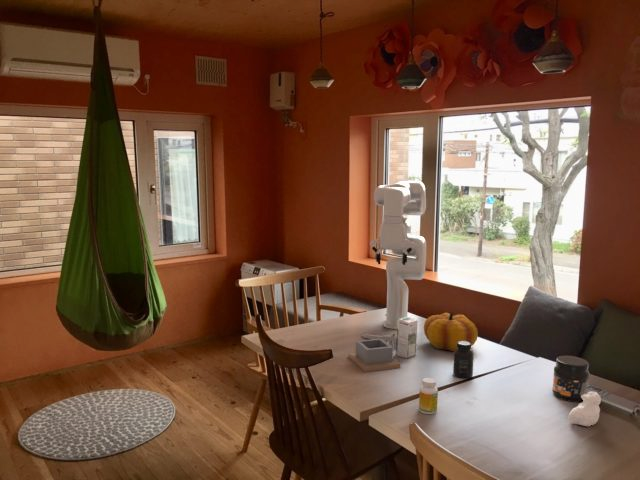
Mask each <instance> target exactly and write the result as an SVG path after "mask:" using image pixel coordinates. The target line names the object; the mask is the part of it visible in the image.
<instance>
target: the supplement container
mask: <svg viewBox="0 0 640 480" xmlns="http://www.w3.org/2000/svg"><path fill="white" fill-rule="evenodd" d="M555 360H556V361H555V366H554V367H553V383H552V393H553V394H554V395H555V396H556V397H557V396H558V397H557V398H559V397H560V398H559V399H561V398H562V400H564V399H565V400H564V401H567V400H570V401H569V402H575V401H577V402H581V401H580V400H583V399H582V398H581V395H583V394H586V393H588V392H589V391H588V390H589V379H590V378H589V377H590V371H589V366H590V365H589V362H588V361H587V360H586V359H584V358H581V357H577V356H574V355H560V356H557V357H556V359H555Z"/></svg>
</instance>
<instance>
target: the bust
mask: <svg viewBox="0 0 640 480" xmlns="http://www.w3.org/2000/svg"><path fill="white" fill-rule="evenodd" d="M581 398H582V399H583V401H581V402H580V403H578V405H577V406H576V407H573V408H572V409H571V410H570V412H569V414H568V416H567V417H568V419H567V420H568V423H569V424H571V425H580V426H583V427H592V426H593V425H595V424H597V422H598V421H599V418H600V411H601V408H600V406H599V405H600V404H601V401H602V398H601V395H599V393H598V392H597V391H594V390H592V391H588V392H587V394H583V395H581ZM591 425H592V426H591Z"/></svg>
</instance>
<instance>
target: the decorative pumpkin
mask: <svg viewBox="0 0 640 480" xmlns="http://www.w3.org/2000/svg"><path fill="white" fill-rule="evenodd" d="M423 331H424V336H425V338H426V339H427V340H428V342H429V343H430V344H431V345H432V346H433V347H434V348H435V349H438V350H447V351H449V352H454V351H455V350H456V349H457V342H459V341H467V342H470V343H471V347H472V346H474V345H475V343H476V342H477V340H478V337H479V334H478V328H477V327H476V325H475V323H474V322H472V320H470V319H469V318H468V317H466V316H465V315H464V314H455V315H454V312H453V311H452V312H450V313H448V312H444V313H443V312H442V313H441V314H434V315H429V316H428V317H427V318H426V320H425V321H424V324H423Z"/></svg>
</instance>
